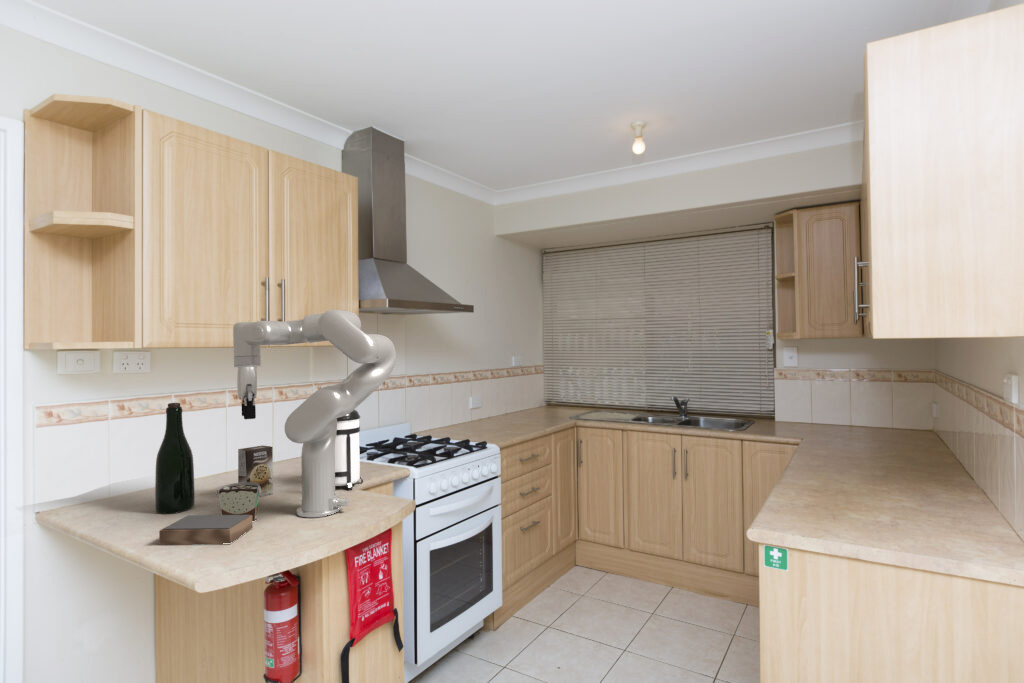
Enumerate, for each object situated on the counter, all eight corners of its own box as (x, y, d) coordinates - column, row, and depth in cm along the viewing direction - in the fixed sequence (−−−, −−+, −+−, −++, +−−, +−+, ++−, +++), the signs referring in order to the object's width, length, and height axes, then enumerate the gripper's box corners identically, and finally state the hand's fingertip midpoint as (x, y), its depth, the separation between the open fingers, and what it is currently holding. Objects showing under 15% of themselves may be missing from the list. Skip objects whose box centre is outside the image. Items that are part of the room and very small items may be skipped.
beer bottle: (179, 503, 180) (178, 400, 180) (202, 506, 176) (201, 401, 176) (147, 512, 170) (145, 404, 170) (171, 516, 166) (169, 405, 166)
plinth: (252, 528, 154) (252, 514, 154) (230, 544, 142) (229, 528, 142) (187, 529, 154) (187, 514, 154) (159, 545, 142) (159, 529, 142)
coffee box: (247, 500, 182) (246, 450, 182) (237, 497, 186) (237, 448, 186) (273, 493, 190) (273, 446, 190) (263, 491, 194) (263, 444, 194)
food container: (268, 515, 166) (268, 481, 166) (260, 521, 160) (259, 486, 160) (226, 516, 166) (226, 482, 166) (216, 522, 160) (216, 487, 160)
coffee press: (312, 485, 200) (311, 401, 200) (356, 479, 209) (355, 398, 209) (325, 496, 185) (324, 406, 185) (372, 489, 194) (371, 402, 194)
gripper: (232, 362, 179) (233, 415, 179) (235, 363, 164) (236, 421, 164) (258, 361, 183) (259, 413, 183) (263, 362, 168) (264, 419, 168)
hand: (248, 417), depth 173 cm, fingers open, 9 cm apart
